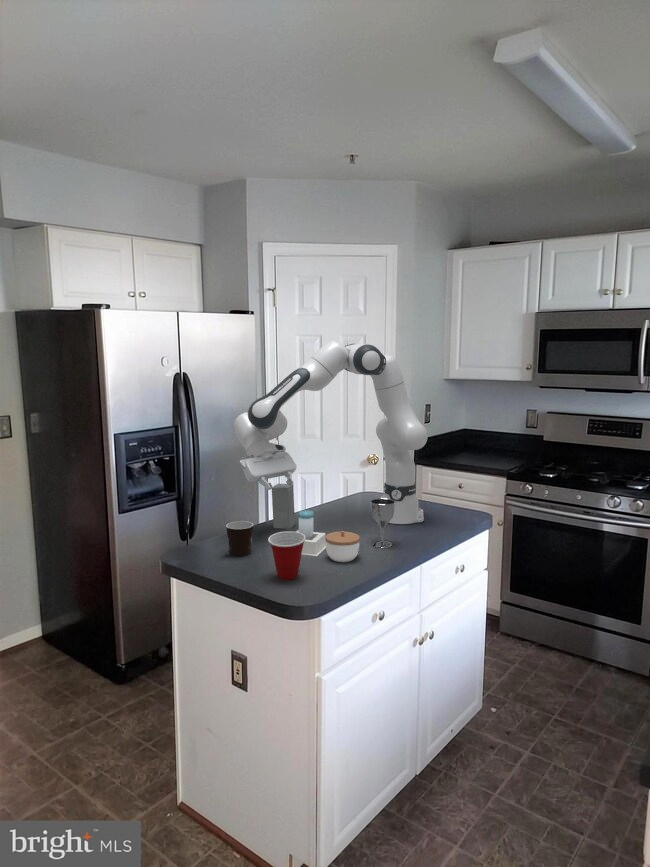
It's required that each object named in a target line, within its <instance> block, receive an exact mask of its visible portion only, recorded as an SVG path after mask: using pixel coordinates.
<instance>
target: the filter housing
mask: <svg viewBox="0 0 650 867" xmlns="http://www.w3.org/2000/svg"><path fill="white" fill-rule="evenodd" d="M295 532H299V529H297V530H296V531H295ZM326 535H327V534H326V532H317V531H313V540H306V539H305V541H304V544H303V548H302V554H301V555H303V556H313V557H318V556H319V555H320V554H321V553H322V552H324V550H326V540H325V536H326Z"/></svg>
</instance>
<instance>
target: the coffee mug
mask: <svg viewBox="0 0 650 867" xmlns="http://www.w3.org/2000/svg"><path fill="white" fill-rule="evenodd" d="M225 528H226V534H227V542H228V549H229V555H230V556H232V557H237V558H239V557H241V558H242V557H247V556H249V555H250V554H251V553H252V544H253V533H254V523H253V522H251V521H247V520H239V521H236V520H235V521H232V522H229V523H227V524H226V525H225Z"/></svg>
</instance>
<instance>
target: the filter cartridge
mask: <svg viewBox="0 0 650 867" xmlns="http://www.w3.org/2000/svg"><path fill="white" fill-rule="evenodd" d="M298 530H299V533H302V534H304V535H305V537H306V540H313V532H314V511H312V510H307V509H305V510H300V511H298Z"/></svg>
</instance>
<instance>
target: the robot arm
mask: <svg viewBox="0 0 650 867" xmlns="http://www.w3.org/2000/svg"><path fill="white" fill-rule="evenodd" d="M343 370H345V371H347V372H350V373H353V374H355V375H364V376H370V377H371V380H372V382H373V383H372V384H373V387H374V391H375V392H374V393H375V395H376V400H377V404H378V407H379V409H380V411H381V412H382V413H383V414H384V416H385V417H384V418H381V419H380V420H379V421H378V423H377V425H376V429H375V433H376V436H377V438H378V440H379V441H380V444H381V447H382V451H383V455H384V456H383V457H384V462H385V482H384V484H383V485H384V486H383V491H384V492H383V495H381V496H380V497H379V498H386V499H392V500H394V501H395V509H394V514H393V517H392V519H391V520H390V521H389V523H388V524H394V525H395V524H396V525H409V524H411V525H412V524H415V523H423V521H425V520H424V519H425V518H424V509H422V508H421V507H419V499H418V496H417V494H416V491H417V486H416V481H415V479H416V477H415V475H416V473H415V472H416V465H415V464H416V463H415V461H414V459H413V457H412V455H411V452H410V451H418V450H421V449H422V448H424V446H425V445H426V444H427V441H428V437H429V436H428V431H427V429H426V427H425V426H424V425H423V424H422V423H421V422H420V420H419V419H418V417H417V415H416V413H415V411H414V409H413V407H412V404H411V403H410V400H409V397H408V396H409V395H408V393H407V388H406V384H405V380H404V378H403V374H402V370H401V368H400V365H399V363H398V361H397V359H396V357H394V355H390V354H383V352H381V350H379V348H378V347H376V346H375V345H373V344H369V343H364V342H361V343H360V342H359V343H350V344H347V345H344V344H342V342H339V341H337V340H330V341H328V342H327V343H325V344H324V345H323V346H321V347H320V348H319V349H318V350H317V351H316V352H314V353H313V354H312V356H310V357H309V358H308V360H307V361H306V362H305V363H304V364H302V365H301V366H300V367H299V368H297V369H295V370H294V371H292V372H291V373H290V374H288V375H287V376H286V377H285V378H284V379H283V380H282V381H280V383H278V384H277V385H276V386H275V387H274V388H273V389H271V391H269V392H268V393H266V394H265V395H263V396H261V397H259V398H257V399H256V400H254V401H252V403H251V404H250V406H249V408H248V411H246V412H242V413H241V414H239V415H238V416H237V417H236V419H235V420H234V422H233V430H234V433H235V436H236V437H237V439H238V441H239V443H240V444H241V446H242V447H243V448H244V450H245V453H246V456H242V457H241V458H240V459H239V464H240V466H241V468H242V470H243V473H244V476H245V478H246V480H247V481H248V482H250V483H254V482H258V483H259V484H260V485H262V486H263V487H264V488H265V490H266V491H269V490H272V487H273V485H272V483H271V482H268V481H267V480H269V479H274V478H278V477H283V476H284V477H285V478H286V481H285V484H287V485H292V484H293V485H294V480H293V479H292V476H293V475H292V474H294V472H296V470H297V464H296V462H295V461H294V459H293V458H292V456H291V455H290V454H289V452H287V451H286V450H287V448H286V446H284V445H283V444H277V443H273V442H270V441H272V440H274V439H276V438H278V437H280V436H282V435H283V434H284V433H285V432H286V431H287V428H288V420H287V418H286V416H285V415H284V413H283V412H282V411H281V408H282V407H283V406H284V405H285V404H286V403H287V402H288V401H289V400H290V399H292V398H293V397H294V396H295V395H297V393H299V392H302V391H311V392H318V391H321V390H323V389H324V388H326V387H327V386H328V385H329V384H330V383H331V382H332V381H333V380H334V379H335V378H336V377H337V375H338V374H339V373H341V372H342V371H343Z"/></svg>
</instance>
